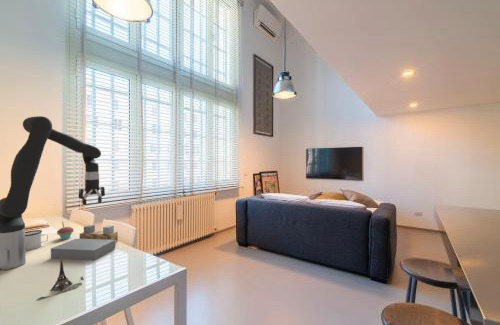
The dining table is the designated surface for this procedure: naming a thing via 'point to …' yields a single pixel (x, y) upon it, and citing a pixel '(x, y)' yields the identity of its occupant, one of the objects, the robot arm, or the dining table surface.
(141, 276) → the dining table surface
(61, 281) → the eiffel tower figurine
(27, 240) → the mug
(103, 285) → the dining table surface
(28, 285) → the dining table surface
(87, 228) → the grey cube
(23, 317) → the dining table surface
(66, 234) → the cupcake
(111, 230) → the crate
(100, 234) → the brown wooden box
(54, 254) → the dock
